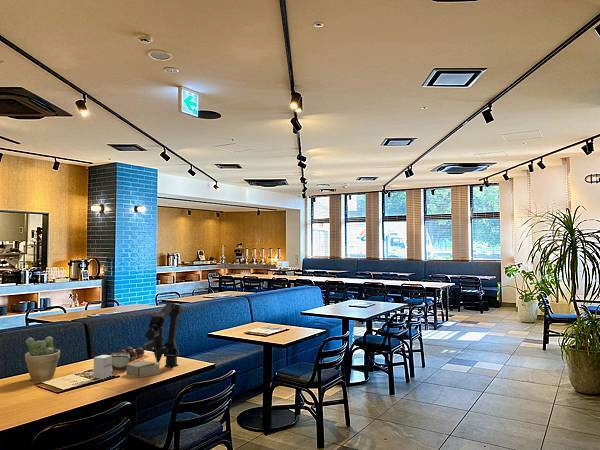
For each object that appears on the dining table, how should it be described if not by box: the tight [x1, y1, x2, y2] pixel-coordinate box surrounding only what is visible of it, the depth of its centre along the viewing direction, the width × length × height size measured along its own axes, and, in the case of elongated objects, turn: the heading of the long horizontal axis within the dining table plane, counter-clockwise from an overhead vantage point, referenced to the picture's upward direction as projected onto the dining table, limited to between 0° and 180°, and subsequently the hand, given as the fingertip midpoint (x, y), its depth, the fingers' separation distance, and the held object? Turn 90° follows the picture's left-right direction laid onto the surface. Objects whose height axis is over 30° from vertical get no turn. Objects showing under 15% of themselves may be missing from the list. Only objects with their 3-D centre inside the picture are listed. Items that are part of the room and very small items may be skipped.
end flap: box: [138, 358, 160, 378], centre depth 272 cm, size 12×1×10 cm, turn 129°
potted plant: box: [24, 336, 61, 382], centre depth 268 cm, size 18×19×25 cm
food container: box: [111, 352, 130, 372], centre depth 287 cm, size 12×6×10 cm, turn 84°
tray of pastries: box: [109, 346, 149, 364], centre depth 307 cm, size 28×17×8 cm, turn 167°
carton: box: [125, 359, 156, 378], centre depth 277 cm, size 12×12×6 cm
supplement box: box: [92, 354, 113, 380], centre depth 269 cm, size 7×7×13 cm
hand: (157, 361), depth 275 cm, fingers closed
